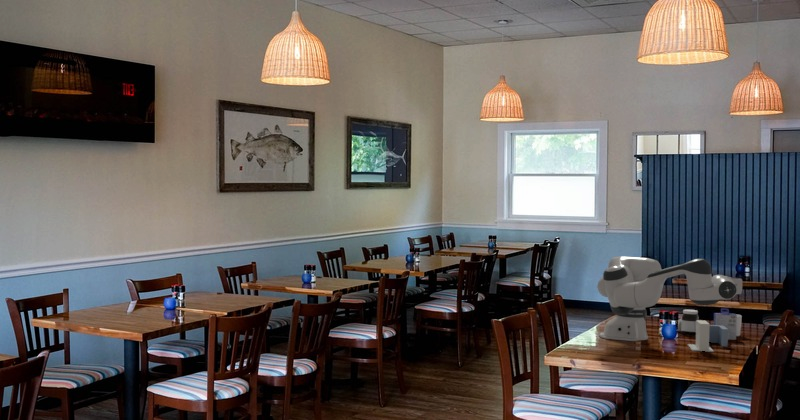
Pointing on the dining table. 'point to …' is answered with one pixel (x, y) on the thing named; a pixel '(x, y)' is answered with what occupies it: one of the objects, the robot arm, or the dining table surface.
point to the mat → (693, 348)
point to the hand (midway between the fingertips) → (713, 281)
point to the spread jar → (688, 322)
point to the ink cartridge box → (726, 322)
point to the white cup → (738, 325)
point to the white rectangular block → (702, 335)
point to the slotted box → (718, 335)
